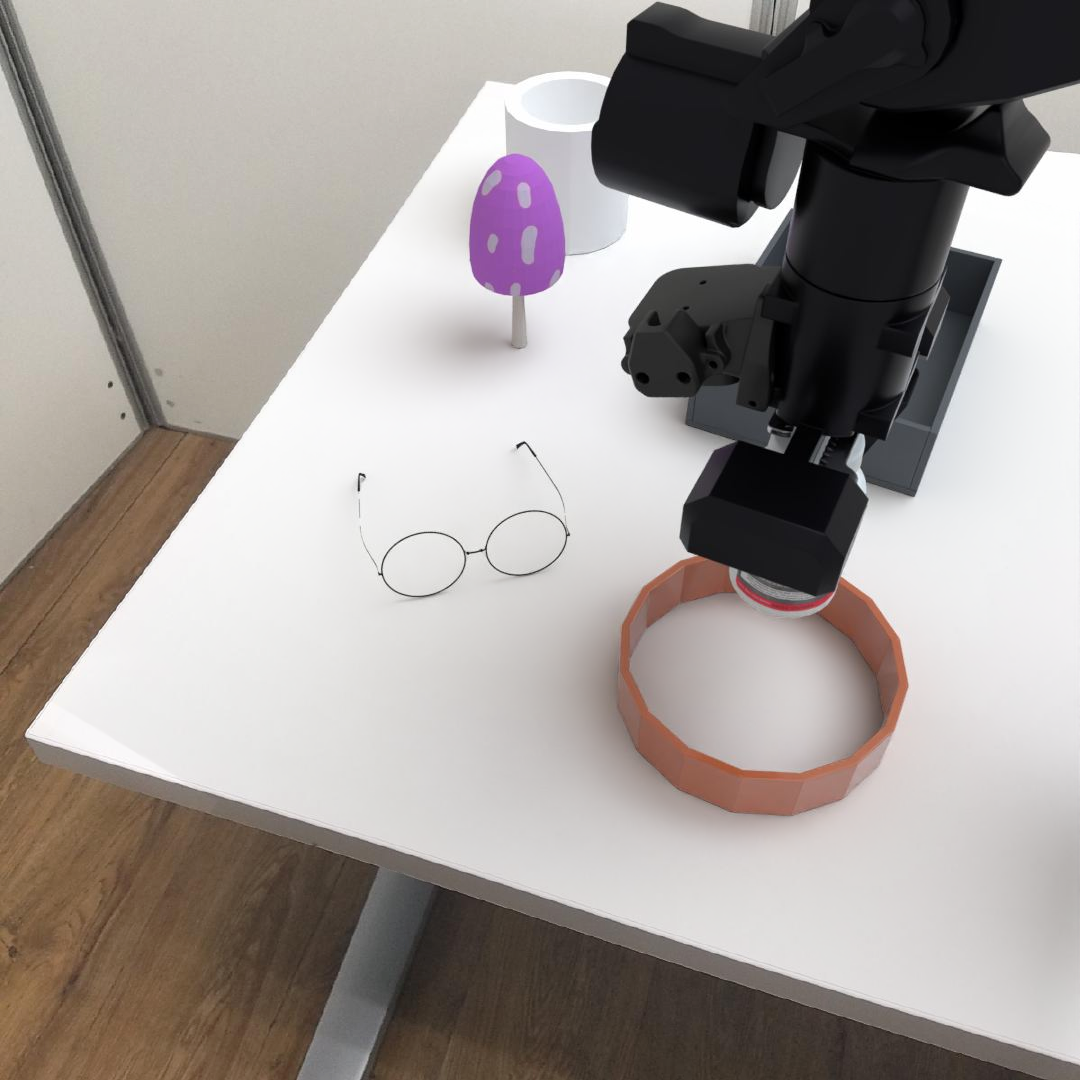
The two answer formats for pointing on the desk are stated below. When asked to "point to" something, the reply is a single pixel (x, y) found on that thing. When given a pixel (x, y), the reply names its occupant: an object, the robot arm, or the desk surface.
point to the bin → (922, 419)
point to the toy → (516, 235)
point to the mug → (567, 152)
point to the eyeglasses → (461, 545)
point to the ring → (750, 786)
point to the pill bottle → (777, 596)
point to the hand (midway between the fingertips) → (792, 538)
